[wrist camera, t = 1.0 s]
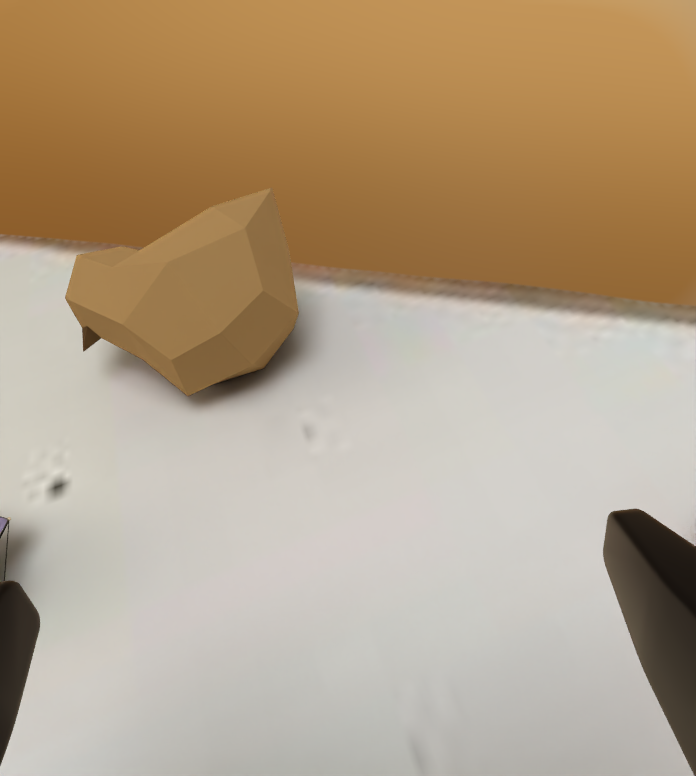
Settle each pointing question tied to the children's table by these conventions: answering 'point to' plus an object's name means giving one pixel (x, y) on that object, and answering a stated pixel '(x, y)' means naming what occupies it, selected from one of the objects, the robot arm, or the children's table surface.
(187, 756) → the children's table surface
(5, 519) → the geometric puzzle
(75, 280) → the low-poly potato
